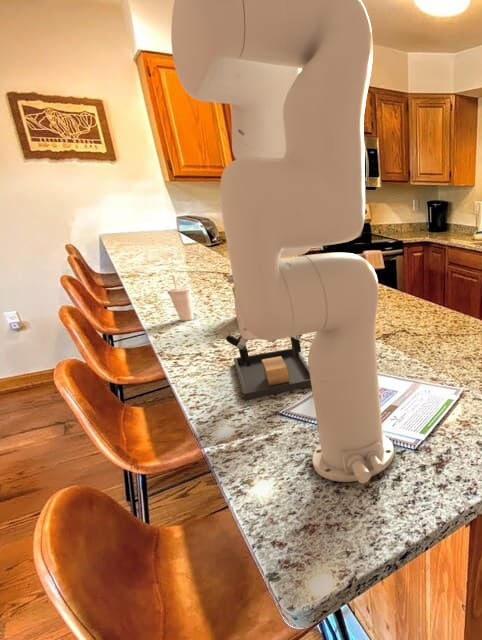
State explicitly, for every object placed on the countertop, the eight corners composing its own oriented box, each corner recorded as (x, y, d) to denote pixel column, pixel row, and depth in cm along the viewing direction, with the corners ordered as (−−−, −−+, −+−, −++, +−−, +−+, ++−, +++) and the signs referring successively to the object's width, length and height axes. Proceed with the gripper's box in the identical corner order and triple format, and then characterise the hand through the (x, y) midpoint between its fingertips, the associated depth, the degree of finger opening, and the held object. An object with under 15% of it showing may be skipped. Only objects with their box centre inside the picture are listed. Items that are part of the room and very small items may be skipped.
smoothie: (178, 317, 138) (166, 273, 132) (200, 315, 139) (189, 272, 134) (172, 322, 132) (160, 277, 126) (196, 321, 134) (184, 276, 128)
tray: (317, 387, 91) (316, 378, 90) (245, 403, 84) (243, 394, 83) (297, 355, 108) (295, 347, 107) (235, 366, 101) (233, 358, 100)
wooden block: (290, 386, 90) (286, 367, 88) (270, 390, 88) (266, 371, 86) (284, 374, 95) (280, 356, 94) (265, 378, 94) (261, 359, 92)
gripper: (208, 288, 76) (228, 375, 83) (307, 278, 84) (318, 358, 91) (206, 279, 82) (225, 361, 89) (299, 271, 89) (310, 347, 97)
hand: (272, 360), depth 90 cm, fingers open, 9 cm apart
